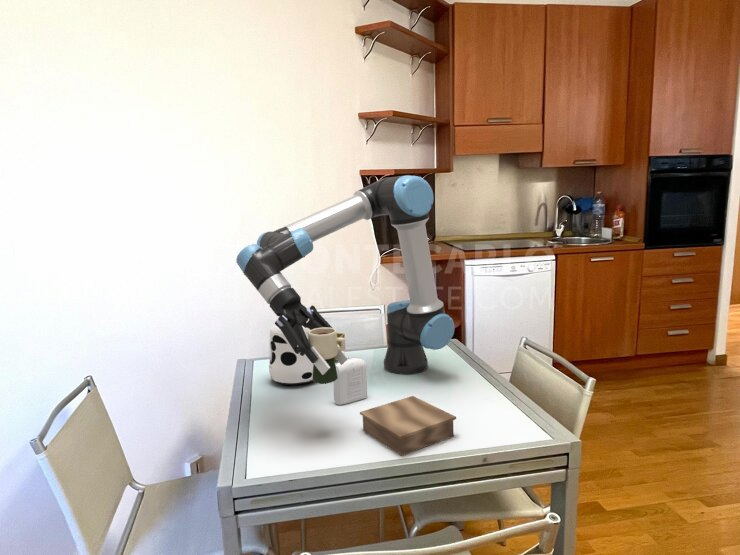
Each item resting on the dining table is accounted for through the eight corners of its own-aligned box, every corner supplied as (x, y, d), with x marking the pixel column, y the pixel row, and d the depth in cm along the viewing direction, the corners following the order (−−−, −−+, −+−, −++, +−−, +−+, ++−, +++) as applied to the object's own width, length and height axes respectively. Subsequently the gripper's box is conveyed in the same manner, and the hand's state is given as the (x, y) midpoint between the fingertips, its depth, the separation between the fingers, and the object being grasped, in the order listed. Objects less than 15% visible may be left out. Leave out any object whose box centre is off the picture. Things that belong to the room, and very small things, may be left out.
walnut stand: (413, 413, 141) (412, 395, 140) (456, 436, 127) (456, 416, 126) (360, 430, 132) (359, 412, 131) (400, 457, 118) (400, 436, 117)
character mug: (349, 376, 132) (346, 326, 130) (345, 387, 125) (342, 334, 123) (306, 376, 133) (303, 327, 131) (300, 387, 126) (297, 335, 124)
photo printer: (361, 393, 156) (360, 354, 154) (369, 398, 153) (368, 357, 151) (332, 402, 151) (330, 361, 149) (339, 406, 147) (337, 365, 145)
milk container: (334, 377, 171) (331, 324, 168) (292, 393, 159) (288, 336, 156) (300, 367, 183) (297, 317, 180) (259, 381, 170) (255, 327, 168)
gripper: (298, 298, 142) (350, 362, 136) (245, 313, 125) (302, 388, 120) (312, 279, 139) (366, 345, 133) (259, 293, 122) (319, 370, 116)
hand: (335, 366), depth 126 cm, fingers closed on character mug, 7 cm apart
